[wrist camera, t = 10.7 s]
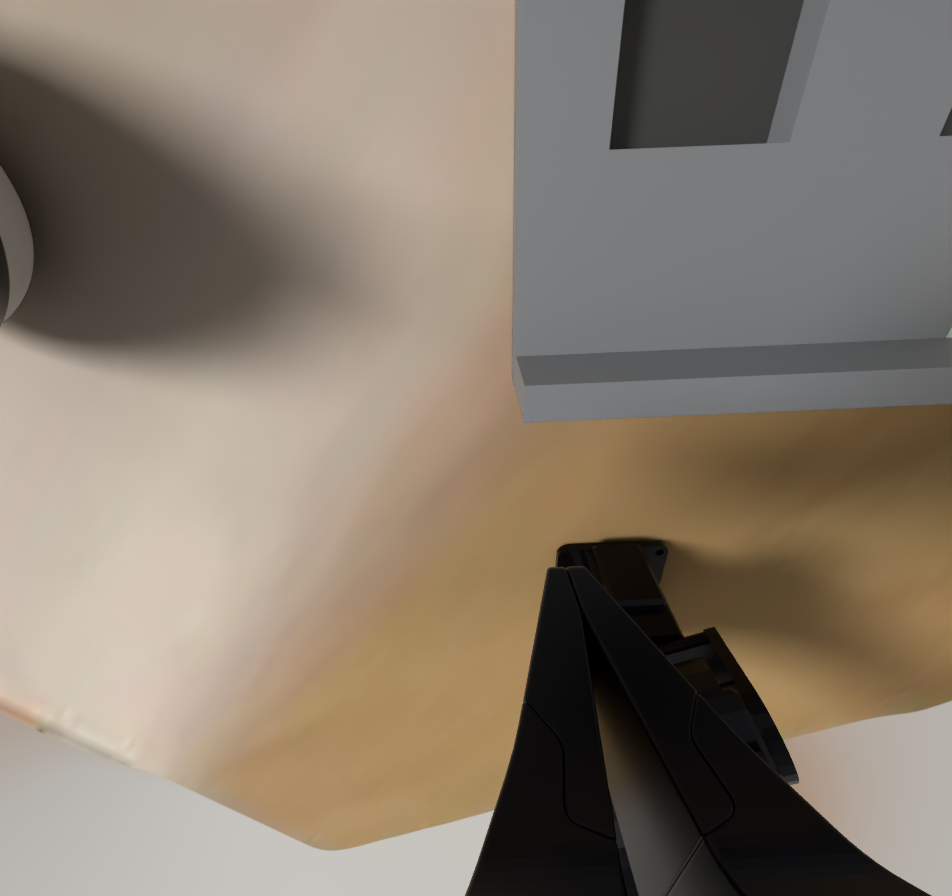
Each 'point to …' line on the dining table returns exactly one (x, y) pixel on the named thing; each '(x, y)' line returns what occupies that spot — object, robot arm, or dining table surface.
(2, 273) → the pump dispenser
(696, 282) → the box
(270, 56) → the dining table surface
